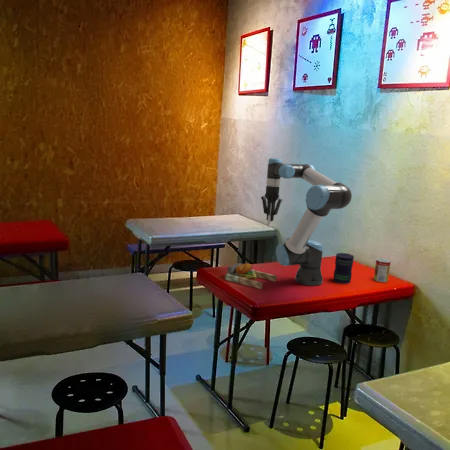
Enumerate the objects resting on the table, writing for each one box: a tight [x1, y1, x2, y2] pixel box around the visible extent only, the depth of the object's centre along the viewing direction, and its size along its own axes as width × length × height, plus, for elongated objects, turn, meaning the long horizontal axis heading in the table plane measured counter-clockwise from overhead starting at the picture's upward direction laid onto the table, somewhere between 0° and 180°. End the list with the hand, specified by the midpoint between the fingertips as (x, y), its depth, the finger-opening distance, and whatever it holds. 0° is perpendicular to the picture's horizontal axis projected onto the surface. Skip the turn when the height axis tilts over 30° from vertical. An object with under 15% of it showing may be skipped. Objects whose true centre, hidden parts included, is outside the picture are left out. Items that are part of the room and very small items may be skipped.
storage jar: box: [332, 252, 355, 285], centre depth 279 cm, size 10×10×15 cm
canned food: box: [373, 257, 391, 283], centre depth 286 cm, size 8×8×12 cm
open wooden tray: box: [224, 262, 277, 290], centre depth 271 cm, size 23×18×6 cm
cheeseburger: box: [236, 262, 257, 281], centre depth 272 cm, size 10×11×10 cm
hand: (269, 226), depth 286 cm, fingers closed
